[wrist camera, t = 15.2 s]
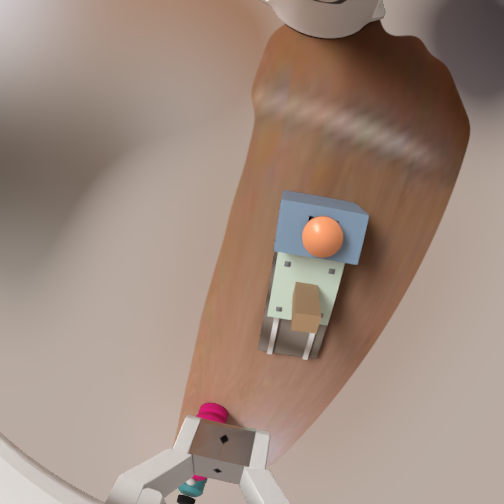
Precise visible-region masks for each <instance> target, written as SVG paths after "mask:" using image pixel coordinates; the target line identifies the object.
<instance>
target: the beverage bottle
mask: <svg viewBox="0 0 504 504" xmlns="http://www.w3.org/2000/svg"><path fill="white" fill-rule="evenodd" d="M206 481H207V479H205V480H202V481H196V483H195V485H193V486H190V485H188V484H187V483H186V482H185V483H184V484H182V485H181V486H180V487H178V489H179V491H180V492H181V493H183V494H184V495H178V499H177V502H178V503H179V504H194V503H195V499H193V498H191V497H198V496H200V495H202V493H203V489H204V486H205V483H206ZM185 495H187V496H185ZM189 496H191V497H189Z"/></svg>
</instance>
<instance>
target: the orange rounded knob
mask: <svg viewBox="0 0 504 504" xmlns="http://www.w3.org/2000/svg"><path fill="white" fill-rule="evenodd" d="M302 240H303V245H304V247H305V249H306V250H307V251H308V252H309V253H310V254H311V255H313V256H316V257H320V258H325V257H329V256H332V255H334V254H335V253H336V252H337V251H338V250H339V249H340V247H341V245H342V243H343V232H342V229H341V227H340V225H339V224H338V223H337V221H335V220H334V219H333V218H331V217H328V216H316V217H314V218H312V219H310V220H309V221H308V222H307V223H306V225H305V226H304V228H303V232H302Z"/></svg>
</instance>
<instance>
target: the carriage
mask: <svg viewBox="0 0 504 504" xmlns="http://www.w3.org/2000/svg"><path fill="white" fill-rule="evenodd" d="M344 265H345V263H342V262H336V261H330V260H324V259H318V258H312V257H306V256H300V255H294V254H288V253H282V252H278V255H277V261H276V267H275V273H274V279H273V285H272V290H271V296H270V302H269V308H268V313H267V316H269V317H275V318H281V319H287V320H291V330H294V331H300V332H307V333H314V334H317V330H318V327H319V324H321V325H328V322H329V319H330V316H331V312H332V309H333V306H334V302H335V299H336V295H337V291H338V288H339V284H340V280H341V276H342V273H343V269H344Z"/></svg>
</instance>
